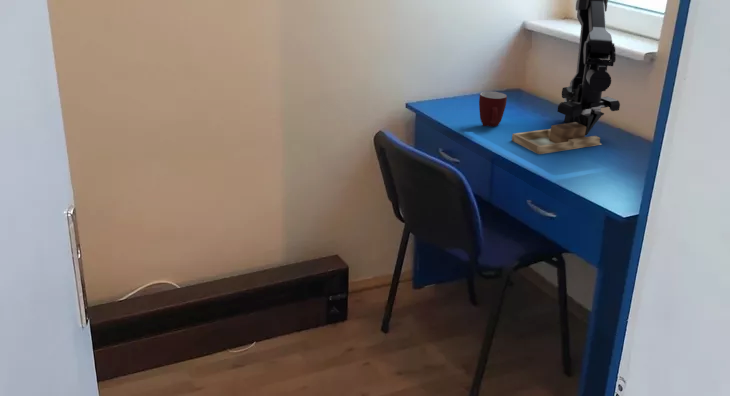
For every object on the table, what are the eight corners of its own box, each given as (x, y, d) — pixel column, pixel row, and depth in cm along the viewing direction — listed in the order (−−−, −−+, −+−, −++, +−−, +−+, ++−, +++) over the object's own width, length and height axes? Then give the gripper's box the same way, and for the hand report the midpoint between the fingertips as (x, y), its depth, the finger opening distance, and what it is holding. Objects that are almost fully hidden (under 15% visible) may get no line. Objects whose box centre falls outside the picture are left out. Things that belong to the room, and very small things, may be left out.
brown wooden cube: (561, 138, 214) (563, 123, 212) (571, 143, 210) (574, 128, 208) (549, 140, 212) (551, 125, 210) (559, 145, 208) (562, 130, 207)
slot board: (573, 134, 221) (574, 125, 220) (601, 147, 211) (603, 137, 210) (511, 143, 211) (512, 133, 210) (538, 157, 201) (539, 147, 200)
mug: (509, 133, 219) (513, 101, 215) (482, 133, 218) (486, 101, 214) (498, 122, 229) (502, 91, 225) (473, 122, 228) (476, 91, 224)
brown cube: (573, 136, 216) (575, 122, 214) (583, 141, 212) (586, 126, 210) (561, 138, 214) (563, 123, 212) (571, 143, 210) (574, 128, 208)
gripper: (597, 73, 219) (589, 123, 225) (548, 78, 211) (541, 130, 217) (625, 82, 210) (616, 134, 216) (575, 88, 202) (567, 142, 208)
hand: (584, 135), depth 214 cm, fingers closed
